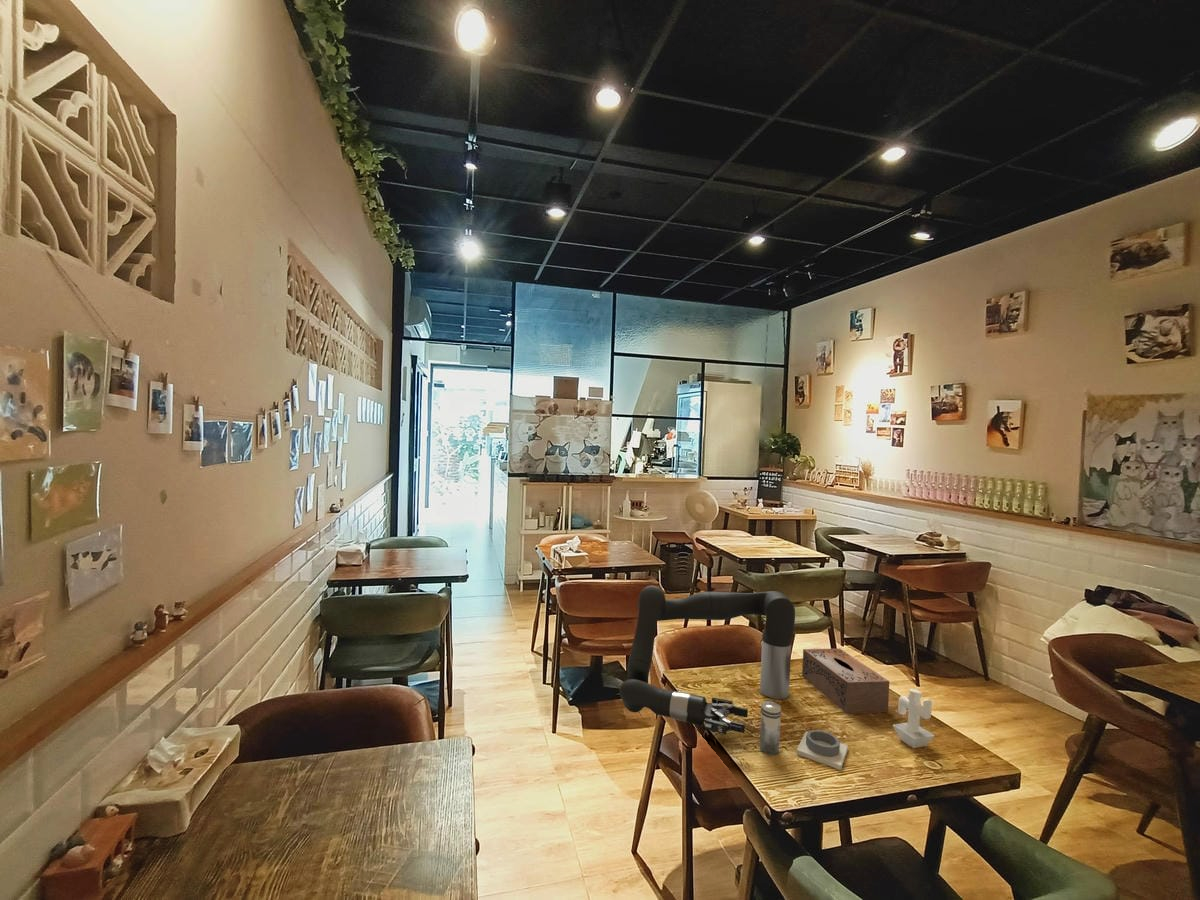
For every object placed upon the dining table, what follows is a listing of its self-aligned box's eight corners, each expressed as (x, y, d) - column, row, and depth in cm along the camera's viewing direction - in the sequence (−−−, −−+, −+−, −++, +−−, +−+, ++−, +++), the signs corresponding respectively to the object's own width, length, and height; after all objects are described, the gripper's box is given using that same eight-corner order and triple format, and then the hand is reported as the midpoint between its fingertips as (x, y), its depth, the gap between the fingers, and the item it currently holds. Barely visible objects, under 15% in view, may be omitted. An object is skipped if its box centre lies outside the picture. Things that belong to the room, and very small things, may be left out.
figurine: (908, 732, 151) (910, 681, 151) (937, 750, 142) (940, 697, 142) (888, 735, 149) (891, 684, 149) (917, 754, 140) (920, 700, 140)
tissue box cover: (802, 676, 186) (803, 649, 186) (838, 675, 188) (839, 648, 188) (846, 714, 161) (847, 682, 161) (887, 712, 163) (889, 681, 163)
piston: (762, 741, 143) (764, 699, 143) (781, 748, 140) (783, 705, 140) (756, 750, 139) (758, 706, 139) (776, 757, 136) (778, 712, 136)
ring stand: (805, 735, 147) (806, 722, 147) (847, 749, 141) (848, 736, 141) (796, 754, 138) (796, 740, 138) (840, 770, 132) (841, 755, 132)
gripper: (692, 708, 154) (748, 721, 148) (682, 733, 141) (743, 748, 135) (693, 684, 154) (749, 695, 148) (683, 706, 141) (744, 720, 135)
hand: (746, 720), depth 141 cm, fingers open, 8 cm apart
